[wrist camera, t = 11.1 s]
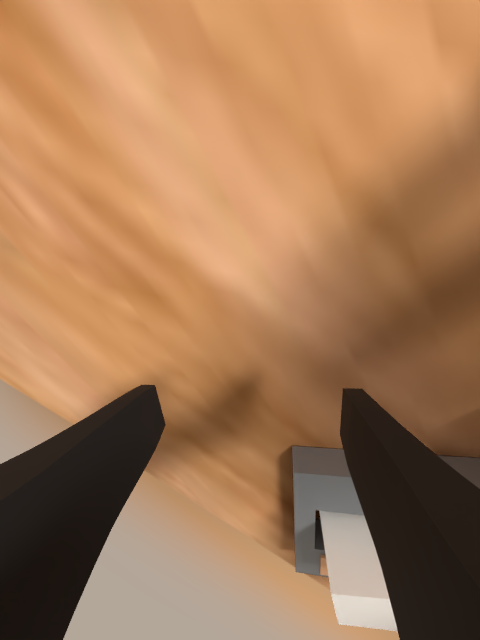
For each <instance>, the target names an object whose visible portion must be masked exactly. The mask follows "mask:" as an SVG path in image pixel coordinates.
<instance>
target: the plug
mask: <svg viewBox="0 0 480 640" xmlns="http://www.w3.org/2000/svg"><path fill="white" fill-rule="evenodd" d="M319 512H320V519H321V526H322V533H323V540H324V547H325V554H326V562H327V569H328V576H329V583H330V590H331V596H332V599H333V603H334V607H335V612H336V616H337V620H338V624H340V625H349V626H357V627H366V628H375V629H384V630H391V631H398V630H397V626H396V622H395V618H394V614H393V610H392V607H391V603H390V599H389V595H388V591H387V587H386V584H385V580H384V576H383V572H382V568H381V565H380V562H379V559H378V555H377V552H376V549H375V546H374V543H373V540H372V537H371V534H370V531H369V528H368V525H367V522H366V519H365V516H363V515H354V514H346V513H337V512H328V511H319Z"/></svg>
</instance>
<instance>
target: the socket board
mask: <svg viewBox="0 0 480 640" xmlns="http://www.w3.org/2000/svg"><path fill="white" fill-rule="evenodd" d="M437 456H438V457H440V458H441V459H442V460H443V461H445V462H446V463H447V464H448V465H450V466H451V467H452V468H453V469H455V470H456V471H457V472H458V473H460V474H461V475H462V476H464V477H465V478H466V479H467V480H469V481H470V482H471V483H473V484H474V485H475V486H477V487H478V488H479V489H480V458H471V457H456V456H441V455H437ZM292 464H293V505H294V543H295V565H296V572H299V573H305V574H312V575H318V576H324V577H329V576H328V569H327V562H326V554H325V547H324V540H323V533H322V526H321V519H315V511H316V510H319V511H328V512H337V513H346V514H354V515H363V516H364V513H363V510H362V507H361V505H360V502H359V499H358V496H357V493H356V490H355V487H354V484H353V481H352V478H351V475H350V472H349V469H348V466H347V462H346V458H345V454H344V449H333V448H318V447H302V446H292Z"/></svg>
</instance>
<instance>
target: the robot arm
mask: <svg viewBox="0 0 480 640" xmlns="http://www.w3.org/2000/svg"><path fill="white" fill-rule="evenodd" d="M164 427H165V421H164V417H163V414H162V410H161V406H160V402H159V399H158V395H157V391H156V387H155V385H140V386H138V387H136V388H135V389H133V390H131V391H129V392H128V393H126V394H124V395H122V396H121V397H119V398H118V399H116V400H114V401H113V402H111V403H109V404H108V405H106V406H104V407H103V408H101V409H100V410H98V411H96V412H95V413H93V414H91V415H90V416H88V417H87V418H85V419H83V420H81V421H80V422H78V423H76V424H75V425H73V426H71V427H69V428H68V429H66V430H64V431H62V432H61V433H59V434H57V435H55V436H54V437H52V438H50V439H48V440H47V441H45V442H43V443H41V444H39V445H37V446H35V447H34V448H32V449H30V450H28V451H26V452H24V453H22V454H20V455H18V456H16V457H14V458H12V459H10V460H8V461H6V462H4V463H2V464H0V640H63V638H64V635H65V633H66V631H67V628H68V626H69V623H70V621H71V619H72V616H73V614H74V611H75V609H76V607H77V604H78V602H79V600H80V597H81V595H82V593H83V591H84V588H85V586H86V584H87V581H88V579H89V577H90V575H91V572H92V570H93V568H94V565H95V563H96V561H97V559H98V557H99V555H100V552H101V550H102V548H103V546H104V544H105V542H106V540H107V537H108V535H109V533H110V531H111V529H112V527H113V525H114V523H115V521H116V519H117V517H118V516H119V514H120V512H121V510H122V508H123V506H124V505H125V503H126V501H127V499H128V498H129V496H130V494H131V492H132V491H133V489H134V487H135V485H136V483H137V482H138V480H139V478H140V476H141V475H142V473H143V471H144V469H145V467H146V466H147V464H148V462H149V460H150V458H151V457H152V455H153V453H154V451H155V449H156V447H157V444H158V442H159V440H160V437H161V435H162V432H163V430H164ZM340 436H341V440H342V445H343V449H344V454H345V458H346V462H347V466H348V469H349V472H350V475H351V478H352V481H353V484H354V487H355V490H356V493H357V496H358V499H359V502H360V505H361V507H362V510H363V513H364V516H365V519H366V522H367V525H368V528H369V531H370V534H371V537H372V540H373V543H374V546H375V549H376V552H377V555H378V559H379V562H380V565H381V568H382V572H383V576H384V580H385V584H386V587H387V591H388V595H389V599H390V603H391V607H392V610H393V614H394V618H395V622H396V626H397V630H398V634H399V638H400V640H480V489H479V488H478V487H477V486H475V485H474V484H473V483H471V482H470V481H469V480H467V479H466V478H465V477H464V476H462V475H461V474H460V473H458V472H457V471H456V470H455V469H453V468H452V467H451V466H450V465H448V464H447V463H446V462H445V461H443V460H442V459H441V458H440V457H438V456H437V455H436V454H435V453H433V452H432V451H431V450H430V449H428V448H427V447H426V446H425V445H424V444H423V443H421V442H420V441H419V440H418V439H417V438H415V437H414V436H413V435H412V434H411V433H410V432H409V431H407V430H406V429H405V428H404V427H403V426H402V425H401V424H399V423H398V422H397V421H396V420H395V419H394V418H393V417H392V416H391V415H390V414H388V413H387V412H386V411H385V410H384V409H383V408H382V407H381V406H380V405H379V404H378V403H377V402H376V401H374V400H373V399H372V398H371V397H370V396H369V395H368V394H367V393H366V392H365V391H364V390H363V389H346V388H343V396H342V411H341V427H340Z"/></svg>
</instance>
